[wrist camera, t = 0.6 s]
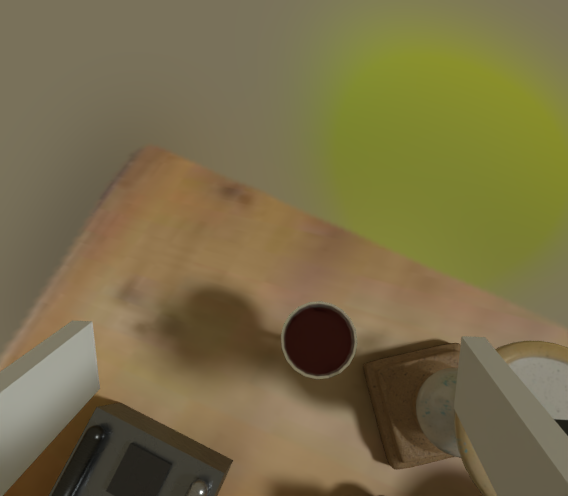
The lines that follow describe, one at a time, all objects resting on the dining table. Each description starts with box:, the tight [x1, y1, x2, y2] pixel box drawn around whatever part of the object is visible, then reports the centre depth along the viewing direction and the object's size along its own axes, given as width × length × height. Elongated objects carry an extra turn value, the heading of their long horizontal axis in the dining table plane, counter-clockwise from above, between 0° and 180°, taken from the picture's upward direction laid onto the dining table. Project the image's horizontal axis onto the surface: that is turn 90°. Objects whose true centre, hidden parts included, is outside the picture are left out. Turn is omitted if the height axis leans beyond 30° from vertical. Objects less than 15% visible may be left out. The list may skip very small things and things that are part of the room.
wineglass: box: [281, 301, 357, 379], centre depth 43 cm, size 7×7×12 cm
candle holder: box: [364, 341, 568, 496], centre depth 35 cm, size 11×11×24 cm
